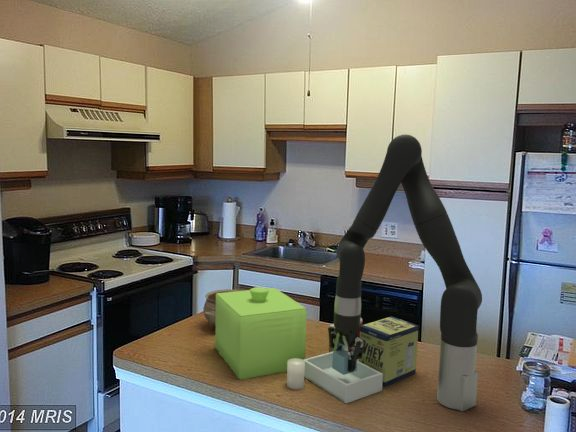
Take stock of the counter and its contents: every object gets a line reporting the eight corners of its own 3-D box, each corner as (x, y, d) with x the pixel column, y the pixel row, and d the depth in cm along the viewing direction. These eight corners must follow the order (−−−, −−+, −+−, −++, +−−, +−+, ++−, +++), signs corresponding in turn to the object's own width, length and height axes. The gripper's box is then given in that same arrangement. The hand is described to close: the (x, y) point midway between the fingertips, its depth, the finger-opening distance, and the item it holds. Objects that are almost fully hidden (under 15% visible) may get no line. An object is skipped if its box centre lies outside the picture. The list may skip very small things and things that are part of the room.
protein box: (357, 374, 149) (359, 325, 147) (389, 361, 159) (392, 315, 157) (384, 387, 141) (386, 335, 139) (416, 373, 151) (419, 324, 149)
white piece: (307, 386, 140) (308, 363, 139) (293, 390, 137) (294, 367, 137) (297, 379, 144) (298, 357, 143) (283, 383, 141) (284, 360, 141)
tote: (382, 390, 139) (382, 373, 138) (346, 403, 131) (346, 385, 130) (336, 365, 155) (337, 350, 154) (302, 375, 147) (302, 359, 146)
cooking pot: (230, 313, 202) (231, 284, 201) (267, 323, 192) (268, 292, 190) (186, 330, 182) (186, 298, 180) (225, 342, 171) (226, 308, 170)
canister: (215, 348, 166) (215, 282, 163) (273, 340, 175) (274, 276, 172) (239, 380, 143) (240, 303, 141) (304, 368, 152) (307, 296, 149)
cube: (356, 370, 141) (357, 354, 140) (343, 374, 138) (344, 358, 137) (345, 364, 145) (346, 348, 144) (332, 368, 142) (333, 351, 142)
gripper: (374, 315, 136) (371, 374, 138) (341, 301, 147) (338, 355, 149) (354, 320, 131) (351, 380, 134) (321, 305, 143) (318, 361, 145)
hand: (344, 367), depth 142 cm, fingers closed on cube, 5 cm apart
